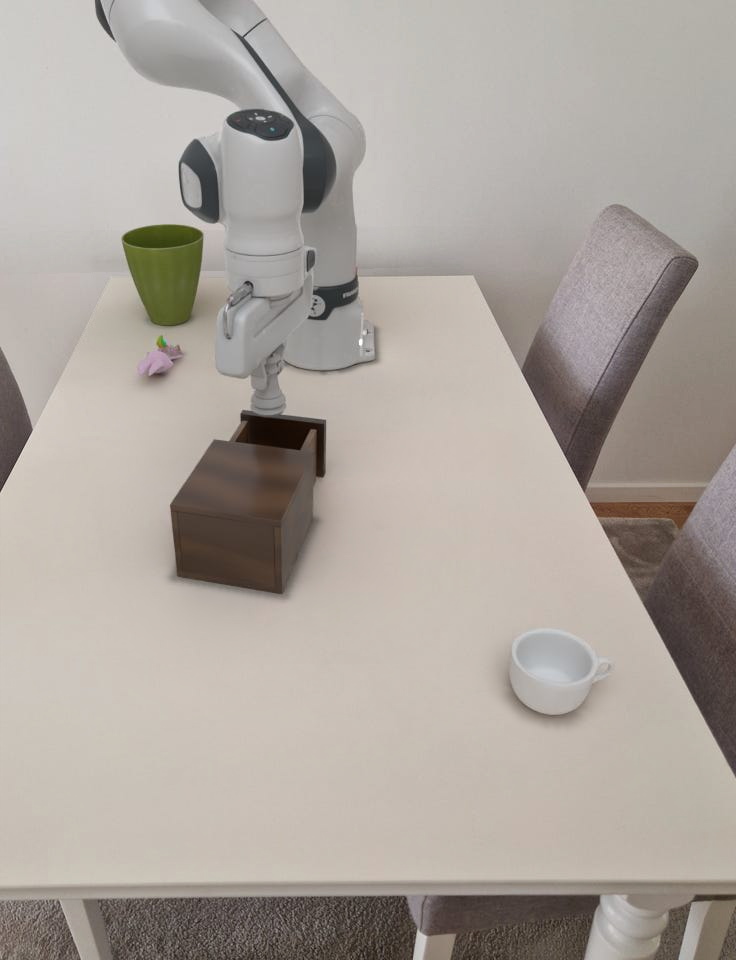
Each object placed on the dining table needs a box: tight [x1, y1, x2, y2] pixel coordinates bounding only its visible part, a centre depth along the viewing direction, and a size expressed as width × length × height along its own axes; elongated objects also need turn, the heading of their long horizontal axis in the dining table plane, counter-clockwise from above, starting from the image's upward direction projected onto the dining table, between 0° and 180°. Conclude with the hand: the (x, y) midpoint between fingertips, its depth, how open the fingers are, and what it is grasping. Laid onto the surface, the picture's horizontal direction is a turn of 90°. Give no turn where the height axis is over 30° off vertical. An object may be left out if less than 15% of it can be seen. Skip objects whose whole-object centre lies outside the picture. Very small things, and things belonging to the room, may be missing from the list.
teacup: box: [509, 627, 615, 716], centre depth 80 cm, size 10×8×5 cm
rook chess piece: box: [250, 349, 287, 417], centre depth 102 cm, size 4×4×8 cm
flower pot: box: [120, 223, 205, 326], centre depth 158 cm, size 15×15×16 cm
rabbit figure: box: [136, 334, 183, 377], centre depth 142 cm, size 6×6×15 cm
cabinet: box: [169, 438, 314, 595], centre depth 99 cm, size 15×13×10 cm
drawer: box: [228, 409, 327, 488], centre depth 109 cm, size 18×11×8 cm, turn 165°
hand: (267, 380), depth 102 cm, fingers closed on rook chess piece, 3 cm apart
